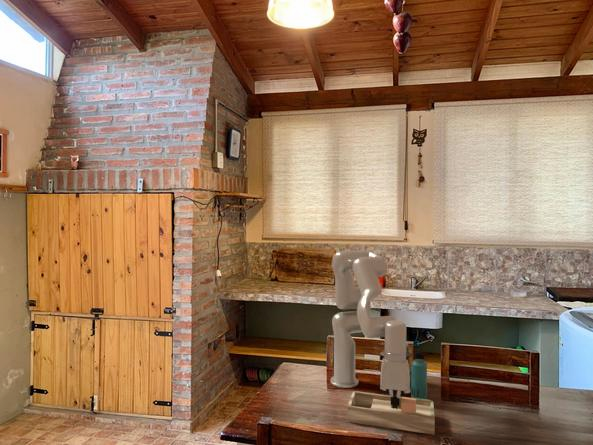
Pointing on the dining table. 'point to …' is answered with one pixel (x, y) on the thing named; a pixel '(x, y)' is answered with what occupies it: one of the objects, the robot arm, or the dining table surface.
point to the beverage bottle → (419, 376)
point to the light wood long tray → (390, 413)
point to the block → (408, 405)
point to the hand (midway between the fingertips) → (395, 407)
